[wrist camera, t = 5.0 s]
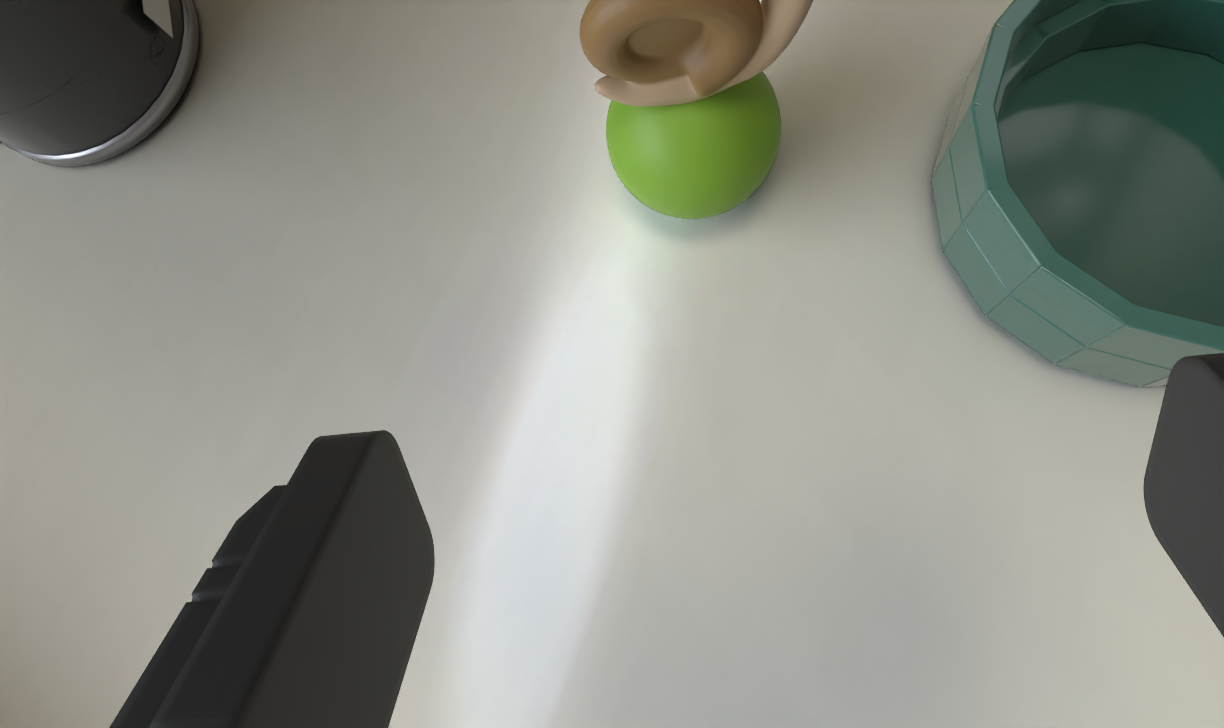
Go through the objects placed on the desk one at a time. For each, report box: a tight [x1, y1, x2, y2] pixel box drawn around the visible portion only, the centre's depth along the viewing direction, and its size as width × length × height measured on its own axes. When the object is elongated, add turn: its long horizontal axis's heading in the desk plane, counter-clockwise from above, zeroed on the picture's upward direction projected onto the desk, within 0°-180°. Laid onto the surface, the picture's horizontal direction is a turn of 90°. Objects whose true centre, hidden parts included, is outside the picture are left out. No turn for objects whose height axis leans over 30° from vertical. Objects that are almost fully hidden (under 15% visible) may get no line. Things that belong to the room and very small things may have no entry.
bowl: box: [931, 0, 1224, 387], centre depth 24 cm, size 12×12×6 cm
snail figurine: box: [580, 0, 813, 219], centre depth 23 cm, size 5×6×12 cm
